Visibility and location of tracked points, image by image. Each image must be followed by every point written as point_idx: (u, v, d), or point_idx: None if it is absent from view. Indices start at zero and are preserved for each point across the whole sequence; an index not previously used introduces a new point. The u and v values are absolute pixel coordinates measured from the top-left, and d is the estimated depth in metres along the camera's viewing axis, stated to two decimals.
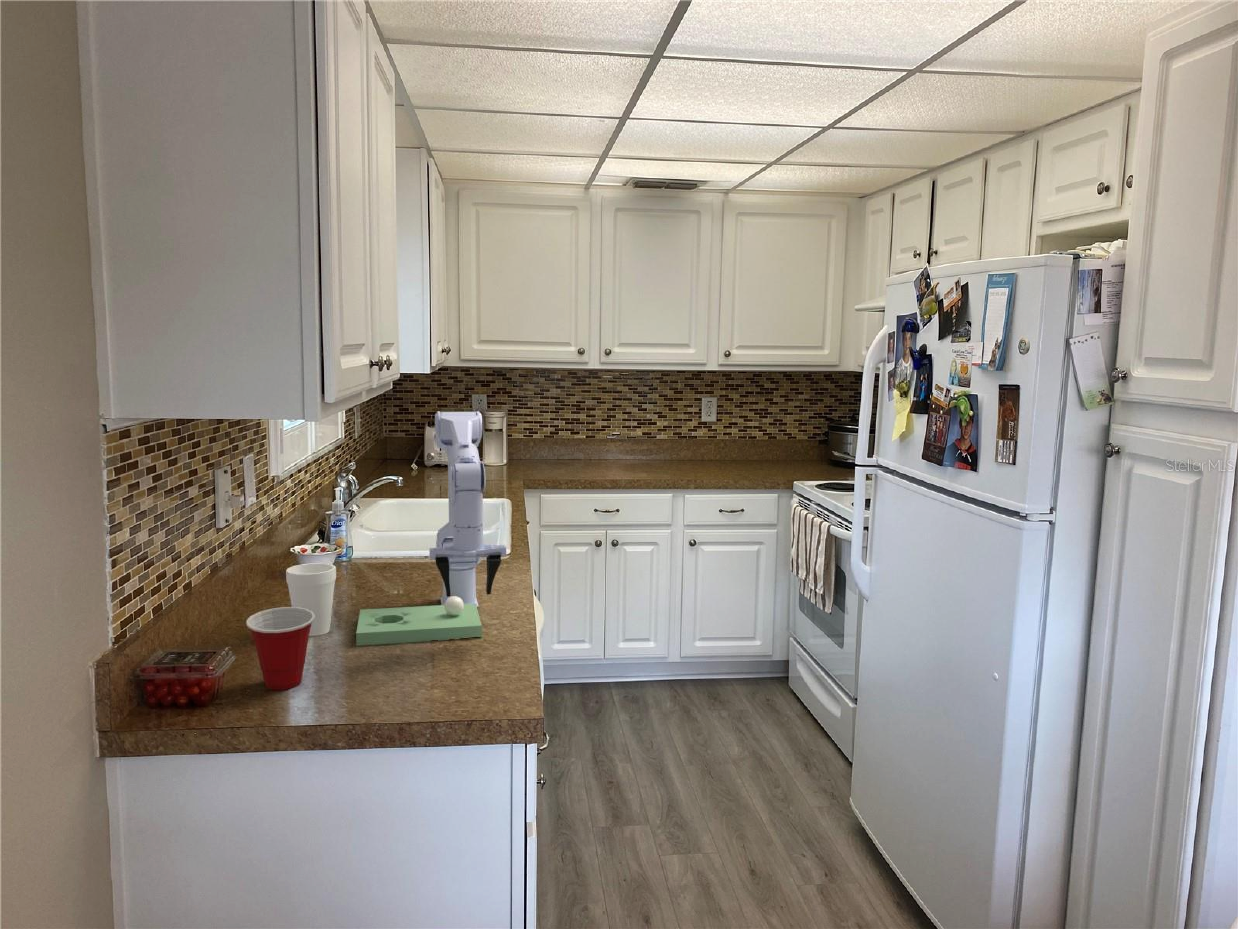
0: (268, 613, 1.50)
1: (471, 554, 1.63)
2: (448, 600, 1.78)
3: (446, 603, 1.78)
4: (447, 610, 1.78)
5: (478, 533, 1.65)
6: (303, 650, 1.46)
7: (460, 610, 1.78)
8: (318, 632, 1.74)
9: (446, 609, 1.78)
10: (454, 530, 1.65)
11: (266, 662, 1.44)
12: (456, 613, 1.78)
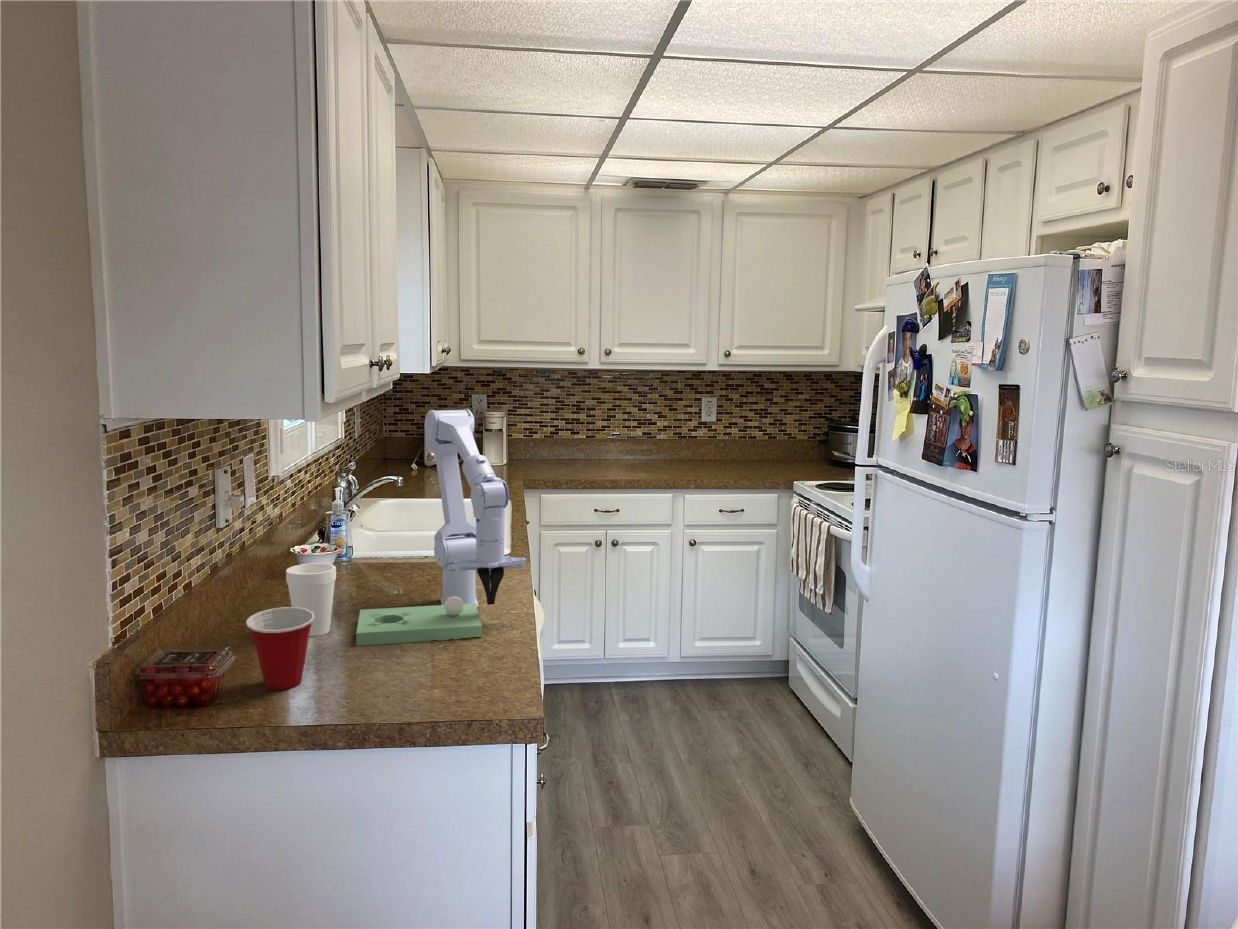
0: (268, 613, 1.50)
1: (493, 566, 1.76)
2: (448, 600, 1.78)
3: (446, 603, 1.78)
4: (447, 610, 1.78)
5: (500, 547, 1.78)
6: (303, 650, 1.46)
7: (460, 610, 1.78)
8: (318, 632, 1.74)
9: (446, 609, 1.78)
10: (477, 544, 1.78)
11: (266, 662, 1.44)
12: (456, 613, 1.78)
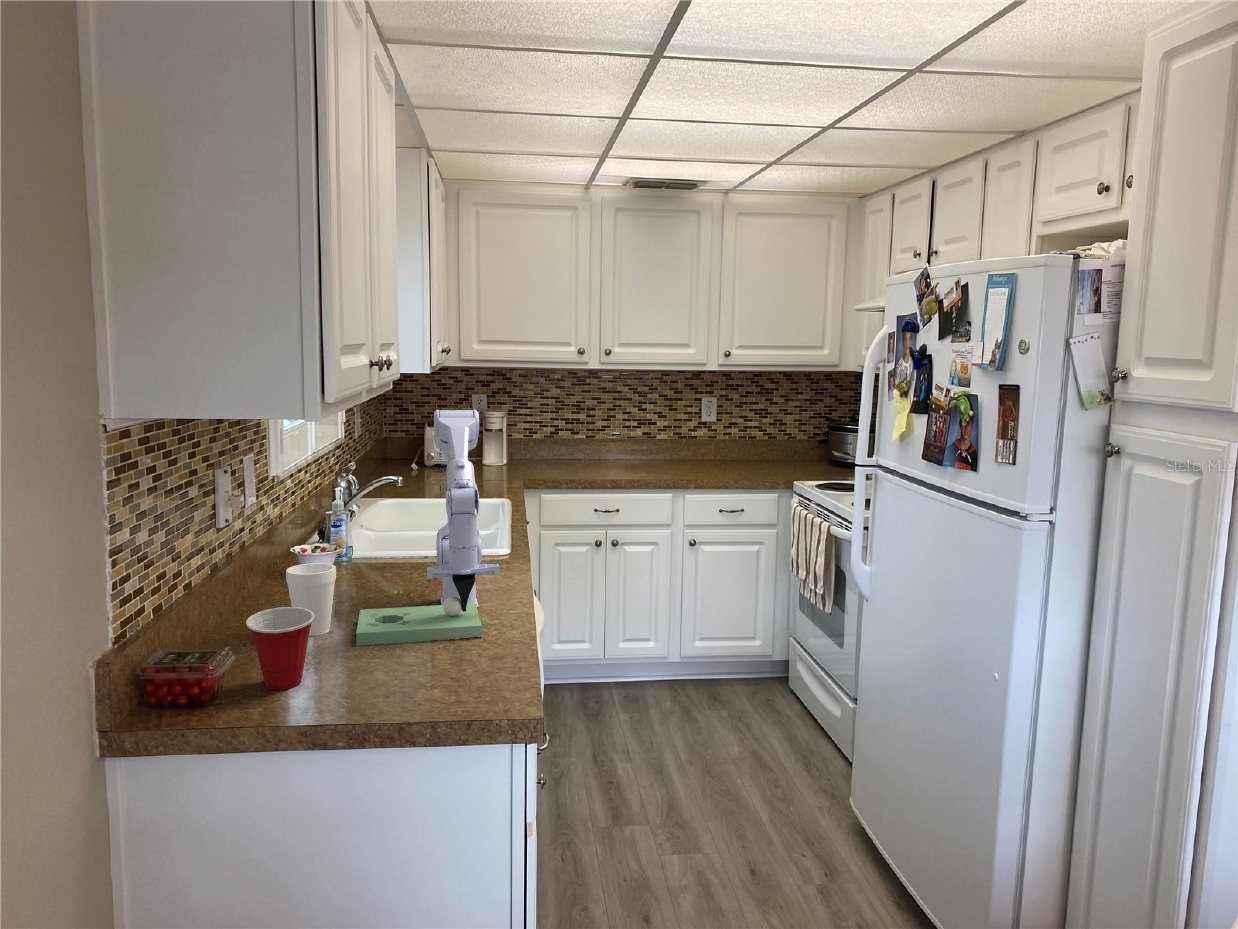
0: (267, 613, 1.50)
1: (466, 573, 1.75)
2: (446, 601, 1.78)
3: (444, 605, 1.78)
4: (446, 611, 1.78)
5: (473, 553, 1.77)
6: (303, 650, 1.46)
7: (459, 610, 1.78)
8: (318, 632, 1.74)
9: (445, 610, 1.78)
10: (450, 550, 1.77)
11: (266, 662, 1.44)
12: (455, 613, 1.78)
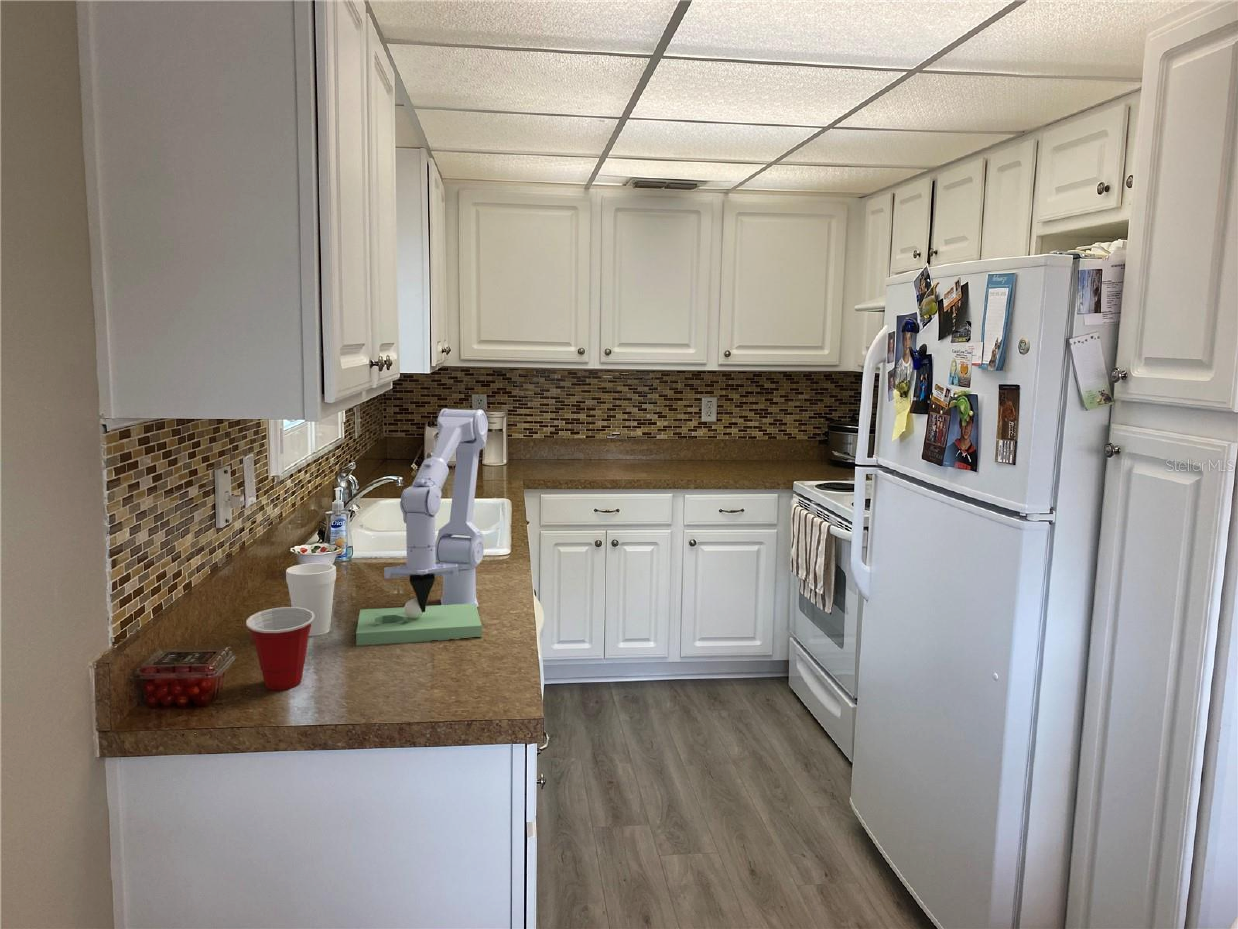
0: (267, 613, 1.50)
1: (423, 573, 1.73)
2: None
3: None
4: (415, 602, 1.76)
5: (431, 553, 1.75)
6: (303, 650, 1.46)
7: (407, 613, 1.76)
8: (318, 632, 1.74)
9: (417, 602, 1.76)
10: (407, 550, 1.74)
11: (266, 662, 1.44)
12: (407, 608, 1.76)
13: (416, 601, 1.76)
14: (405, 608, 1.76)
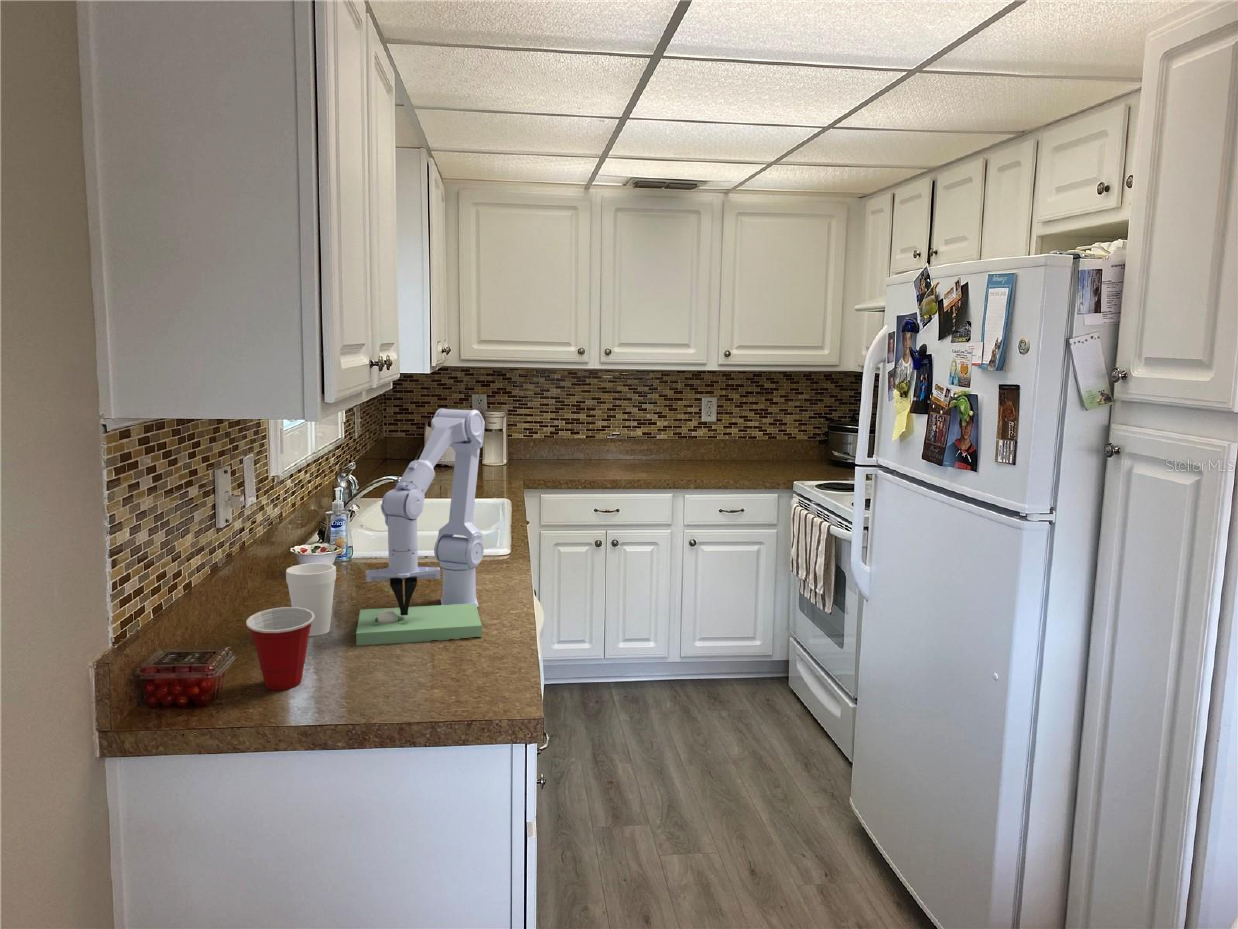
0: (267, 613, 1.50)
1: (405, 576, 1.72)
2: (379, 622, 1.76)
3: None
4: None
5: (412, 557, 1.74)
6: (303, 650, 1.46)
7: (394, 614, 1.77)
8: (318, 632, 1.74)
9: None
10: (389, 553, 1.74)
11: (266, 662, 1.44)
12: (395, 619, 1.76)
13: None
14: (397, 618, 1.77)
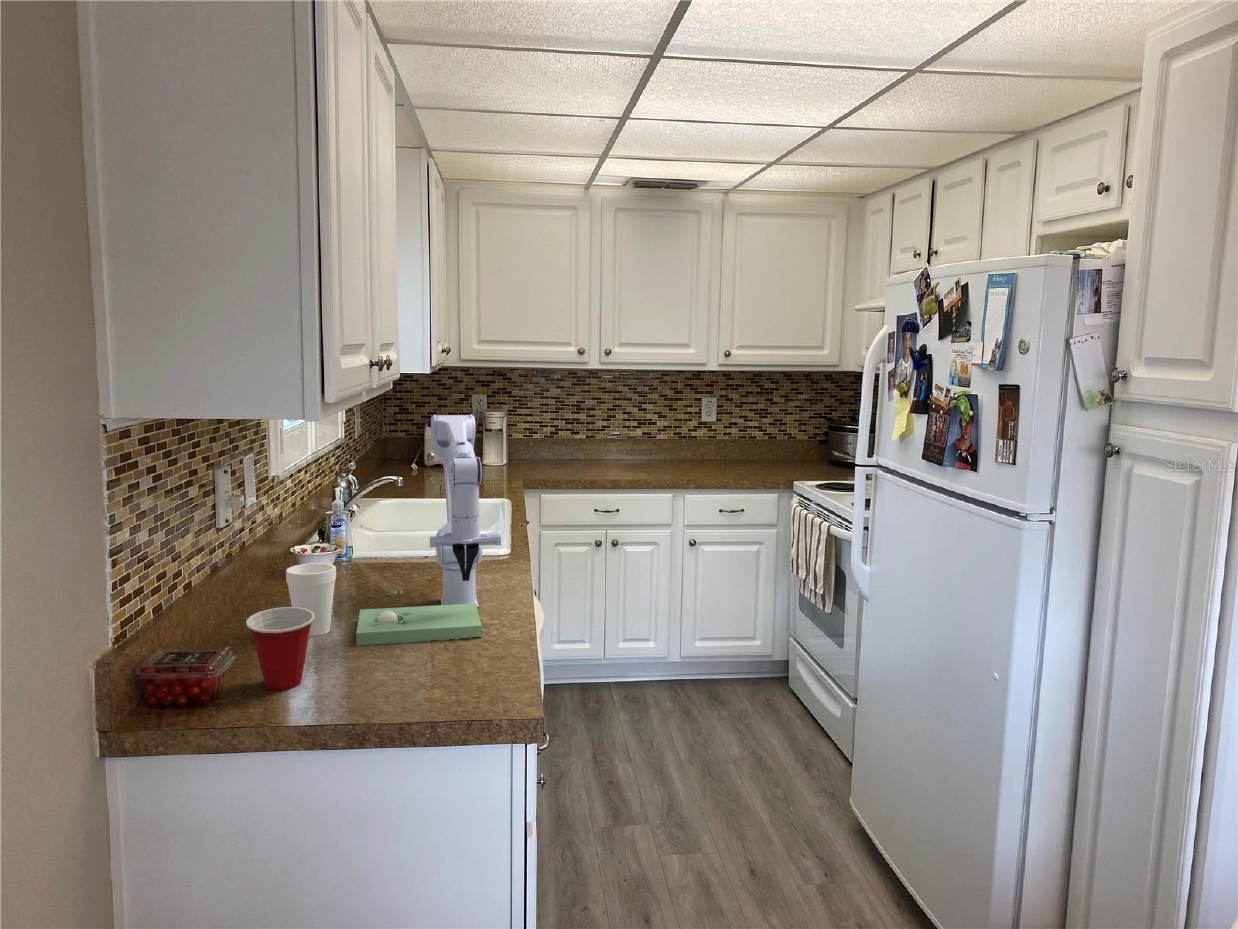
0: (268, 613, 1.50)
1: (467, 542, 1.77)
2: None
3: None
4: None
5: (475, 523, 1.78)
6: (303, 650, 1.46)
7: (394, 617, 1.76)
8: (318, 632, 1.74)
9: None
10: (452, 520, 1.78)
11: (266, 662, 1.44)
12: (395, 622, 1.76)
13: None
14: (397, 620, 1.76)
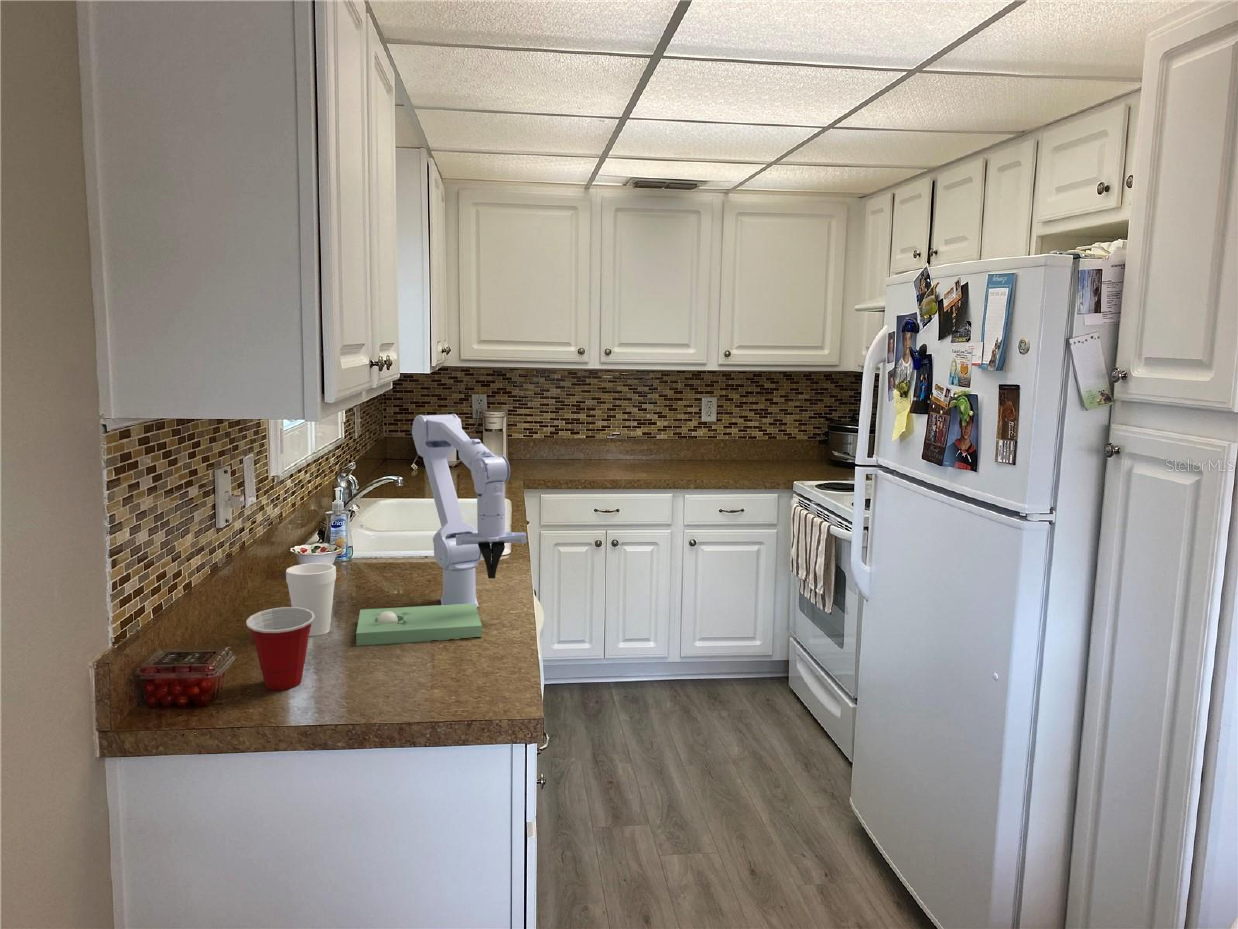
0: (268, 613, 1.50)
1: (494, 540, 1.79)
2: None
3: None
4: None
5: (501, 521, 1.80)
6: (303, 650, 1.46)
7: (394, 620, 1.75)
8: (318, 632, 1.74)
9: None
10: (479, 518, 1.80)
11: (266, 662, 1.44)
12: None
13: None
14: (396, 621, 1.76)
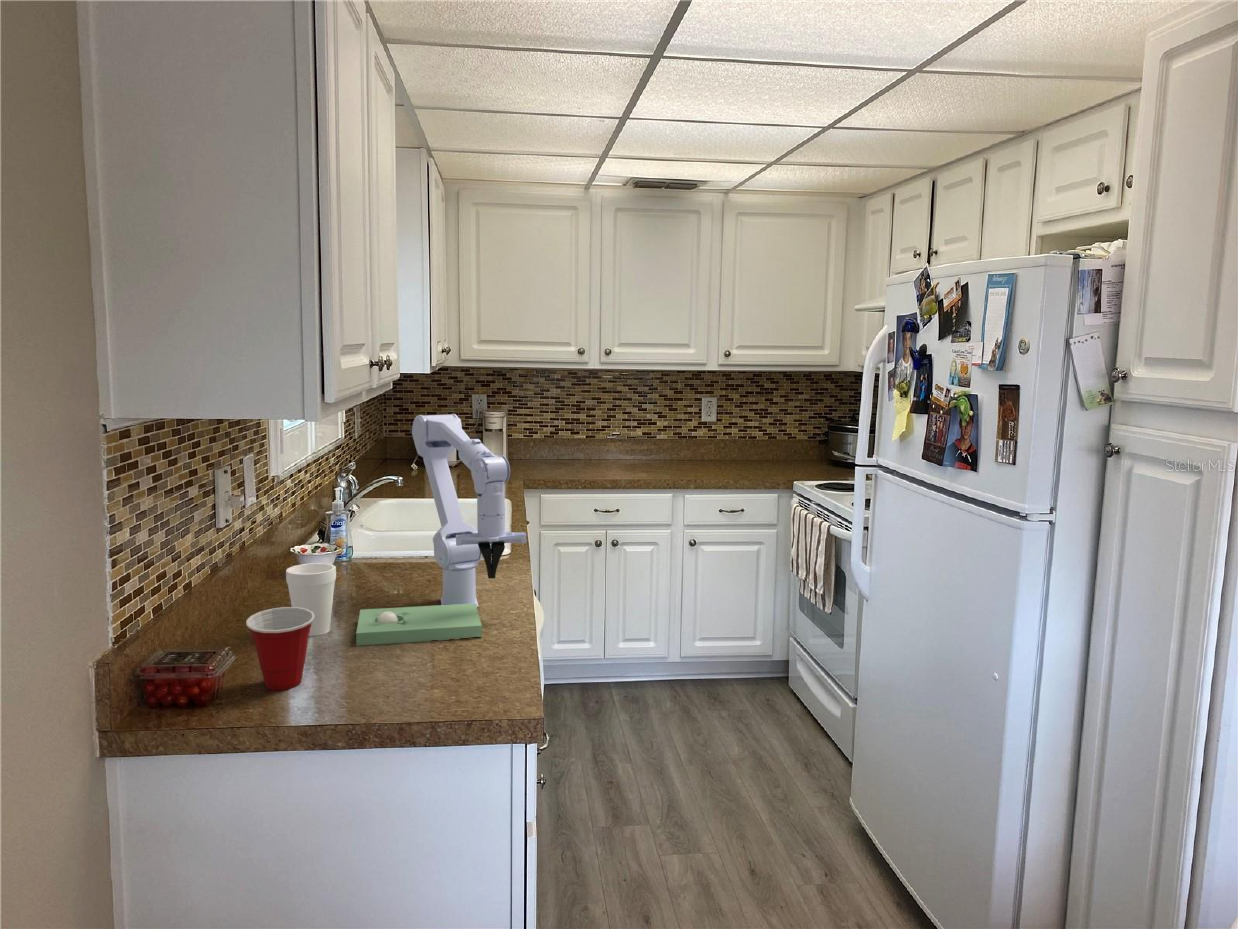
0: (267, 613, 1.50)
1: (494, 540, 1.79)
2: None
3: None
4: None
5: (501, 521, 1.80)
6: (303, 650, 1.46)
7: (394, 621, 1.75)
8: (318, 632, 1.74)
9: None
10: (479, 518, 1.80)
11: (266, 662, 1.44)
12: None
13: None
14: None
